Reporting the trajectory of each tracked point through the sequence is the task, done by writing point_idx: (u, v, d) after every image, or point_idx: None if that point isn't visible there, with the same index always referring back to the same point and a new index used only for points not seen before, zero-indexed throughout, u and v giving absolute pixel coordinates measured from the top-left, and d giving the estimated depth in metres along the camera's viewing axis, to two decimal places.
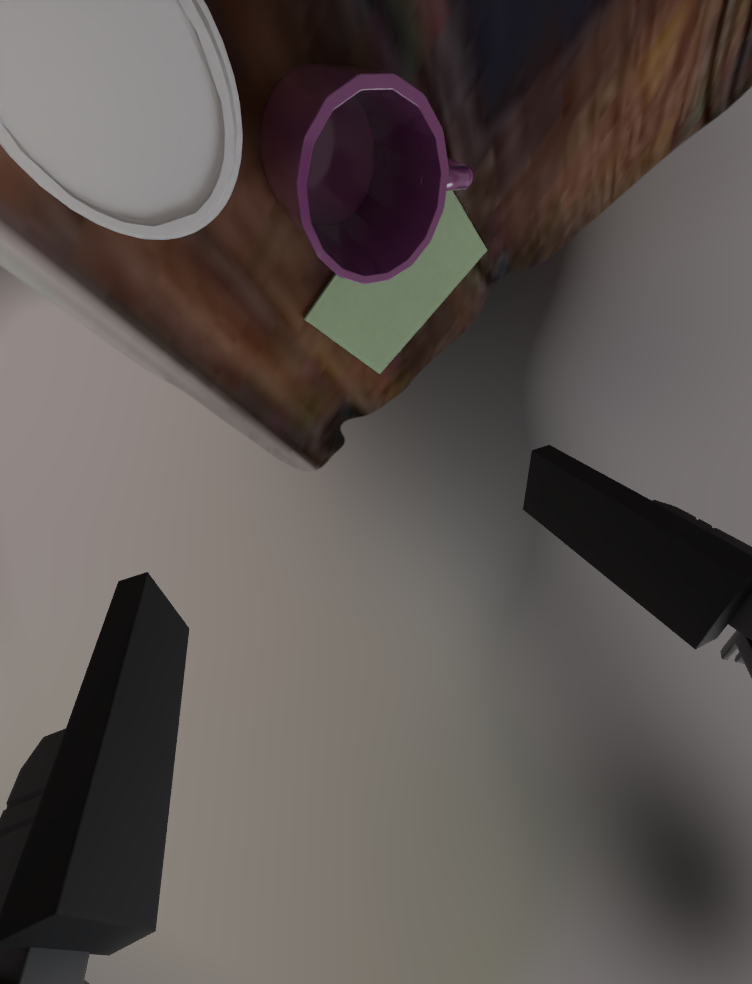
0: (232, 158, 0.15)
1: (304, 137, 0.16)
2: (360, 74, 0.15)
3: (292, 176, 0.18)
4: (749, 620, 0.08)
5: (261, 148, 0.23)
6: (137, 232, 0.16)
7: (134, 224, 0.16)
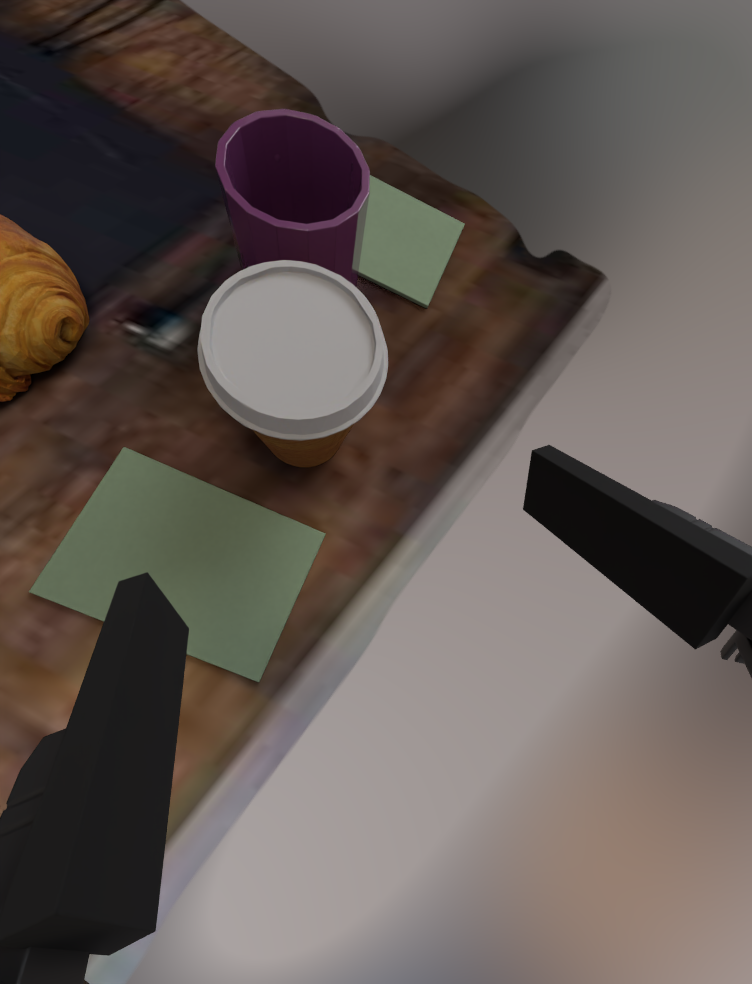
0: (304, 263, 0.18)
1: (275, 226, 0.19)
2: (225, 189, 0.19)
3: (306, 246, 0.20)
4: (749, 620, 0.08)
5: None
6: (381, 335, 0.17)
7: (375, 336, 0.17)
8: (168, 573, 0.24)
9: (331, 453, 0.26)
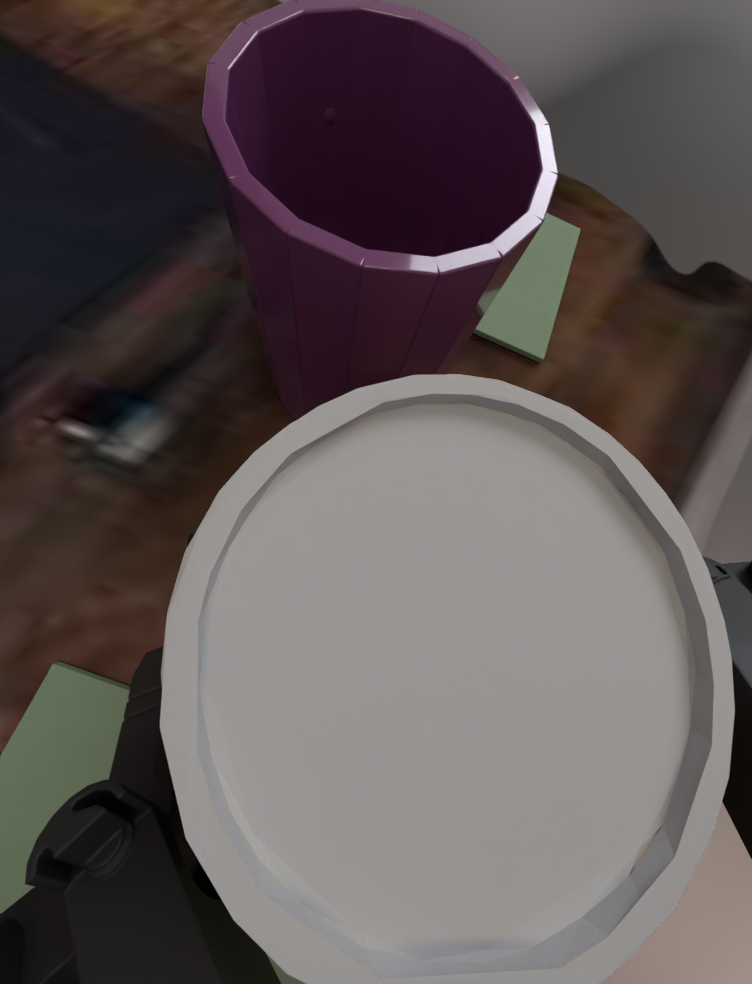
0: (469, 378, 0.06)
1: (361, 267, 0.07)
2: (228, 177, 0.07)
3: (422, 306, 0.09)
4: None
5: None
6: (712, 590, 0.06)
7: (698, 596, 0.06)
8: None
9: None
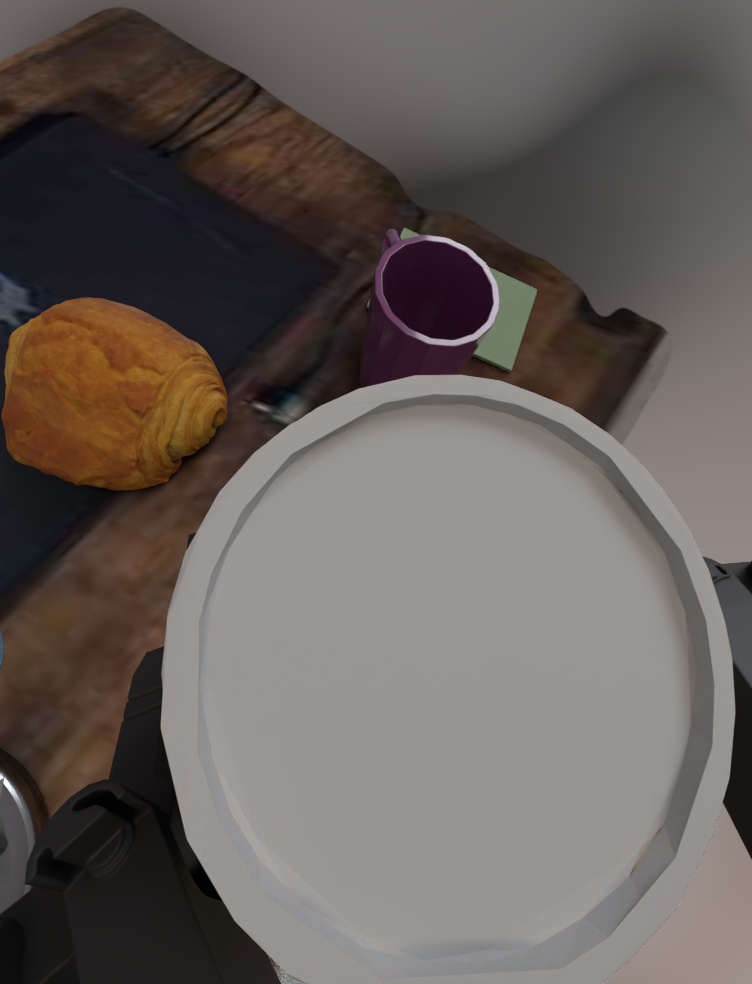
0: (469, 379, 0.06)
1: (429, 344, 0.22)
2: (385, 314, 0.22)
3: (448, 355, 0.23)
4: None
5: None
6: (712, 591, 0.06)
7: (698, 597, 0.06)
8: None
9: None
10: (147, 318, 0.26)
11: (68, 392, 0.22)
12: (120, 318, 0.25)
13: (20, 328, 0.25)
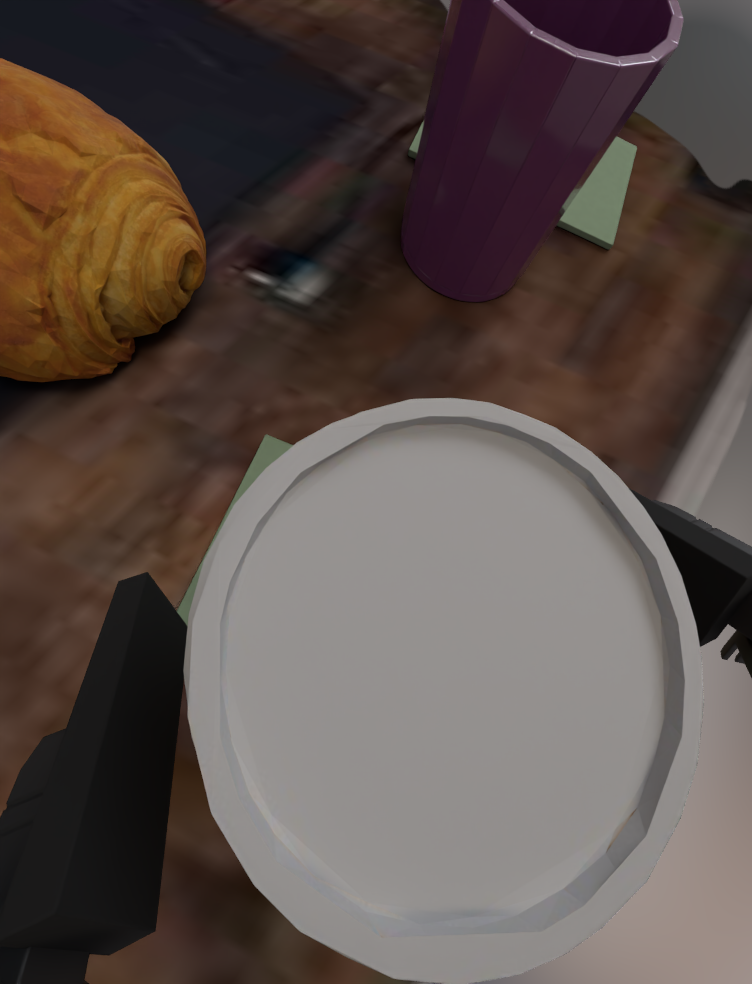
0: (462, 401, 0.07)
1: (574, 58, 0.12)
2: (492, 1, 0.12)
3: (597, 102, 0.13)
4: (749, 620, 0.08)
5: (487, 292, 0.22)
6: (684, 595, 0.06)
7: (671, 600, 0.06)
8: None
9: None
10: (66, 86, 0.15)
11: None
12: (11, 67, 0.14)
13: None
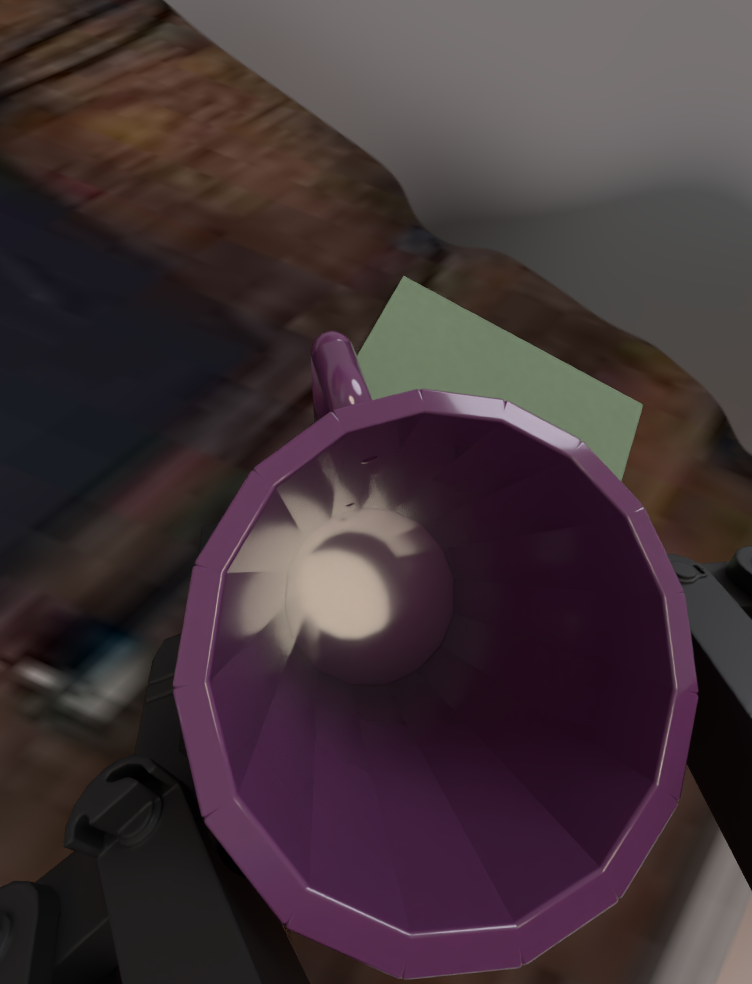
0: None
1: (400, 972, 0.05)
2: (202, 814, 0.05)
3: None
4: None
5: None
6: None
7: None
8: None
9: None
10: None
11: None
12: None
13: None
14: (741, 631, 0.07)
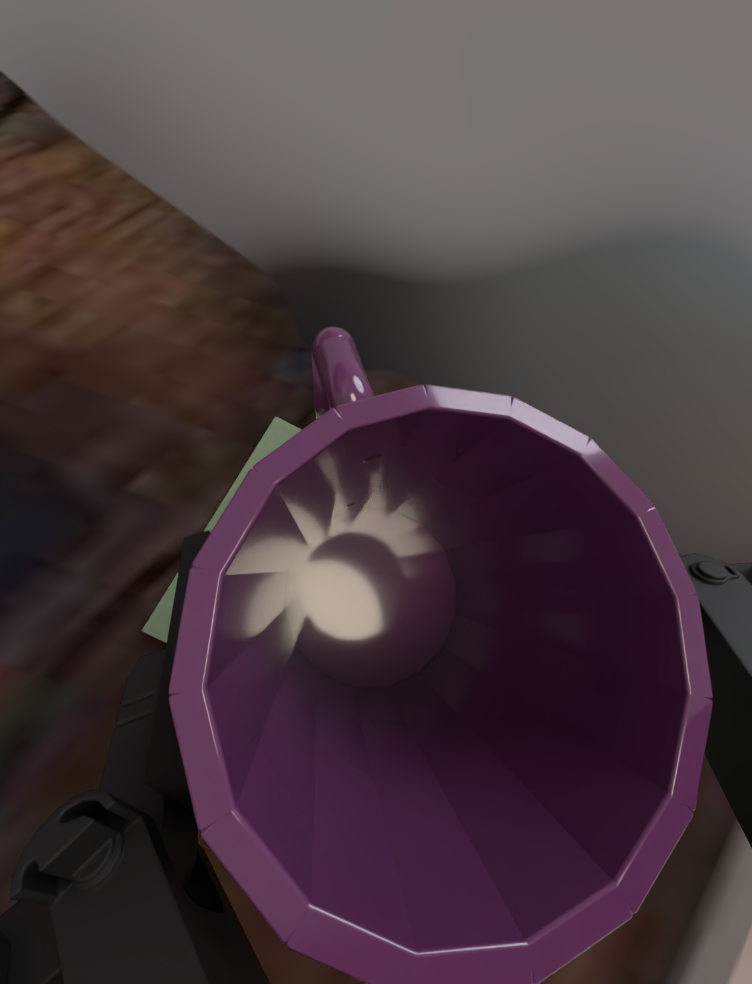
0: None
1: None
2: (198, 827, 0.04)
3: None
4: None
5: None
6: None
7: None
8: None
9: None
10: None
11: None
12: None
13: None
14: None
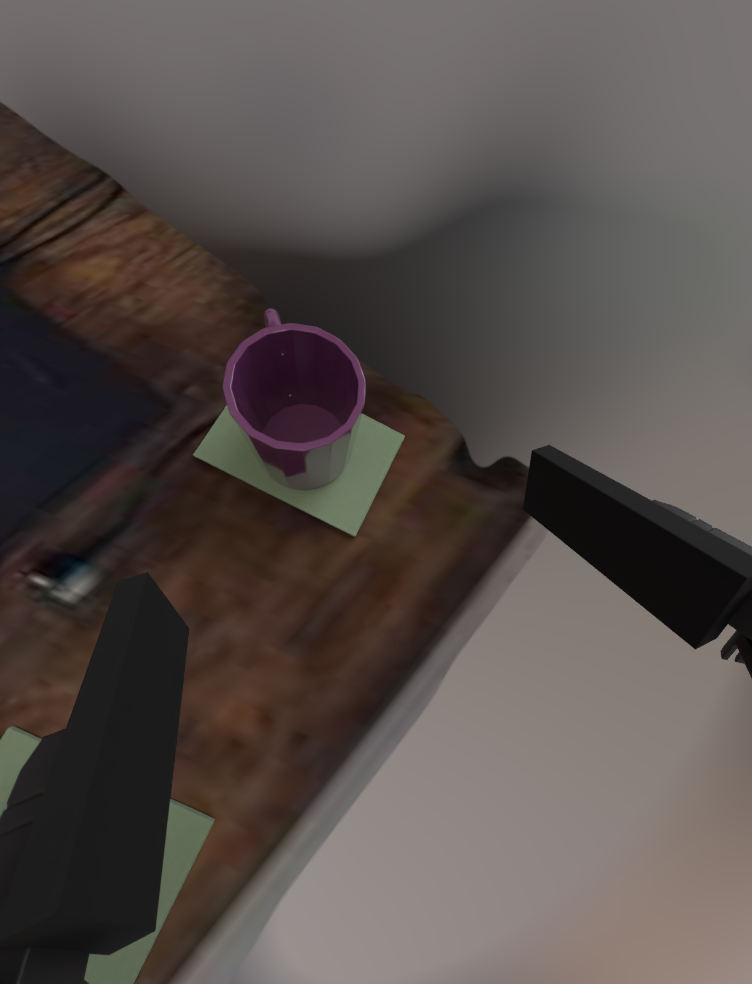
0: None
1: (274, 447, 0.21)
2: (229, 412, 0.21)
3: (302, 456, 0.22)
4: (749, 620, 0.08)
5: (310, 488, 0.30)
6: None
7: None
8: None
9: None
10: None
11: None
12: None
13: None
14: None
